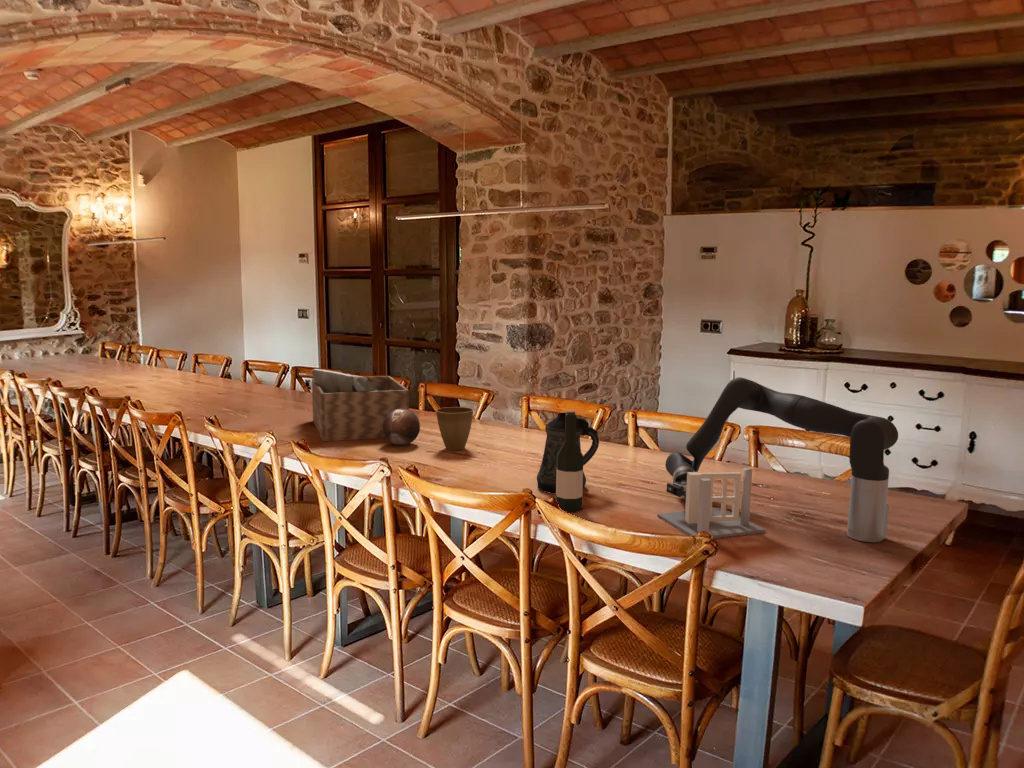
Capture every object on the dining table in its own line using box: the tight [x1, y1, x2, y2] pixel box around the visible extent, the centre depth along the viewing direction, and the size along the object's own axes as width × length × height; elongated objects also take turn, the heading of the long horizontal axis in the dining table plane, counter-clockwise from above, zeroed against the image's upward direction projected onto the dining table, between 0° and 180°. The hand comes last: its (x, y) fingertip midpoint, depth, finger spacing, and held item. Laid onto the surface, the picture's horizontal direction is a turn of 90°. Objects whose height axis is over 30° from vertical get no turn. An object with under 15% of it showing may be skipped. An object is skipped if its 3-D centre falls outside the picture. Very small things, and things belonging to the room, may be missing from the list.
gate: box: [684, 471, 742, 524], centre depth 220 cm, size 15×3×14 cm, turn 96°
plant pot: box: [435, 406, 474, 452], centre depth 313 cm, size 15×15×16 cm
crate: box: [311, 375, 410, 442], centre depth 350 cm, size 36×45×20 cm
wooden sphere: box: [383, 408, 421, 446], centre depth 319 cm, size 15×15×15 cm
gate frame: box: [657, 467, 766, 539], centre depth 223 cm, size 22×22×17 cm
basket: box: [312, 368, 391, 393], centre depth 350 cm, size 40×31×28 cm
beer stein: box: [536, 412, 600, 494], centre depth 259 cm, size 16×19×25 cm
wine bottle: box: [555, 410, 584, 513], centre depth 236 cm, size 8×8×30 cm
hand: (690, 497), depth 221 cm, fingers closed
